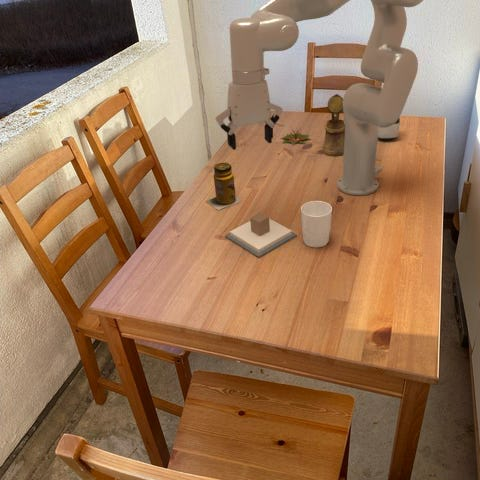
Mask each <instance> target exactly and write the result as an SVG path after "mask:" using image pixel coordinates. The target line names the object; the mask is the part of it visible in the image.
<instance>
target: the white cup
mask: <svg viewBox="0 0 480 480" xmlns="http://www.w3.org/2000/svg"><path fill="white" fill-rule="evenodd" d="M332 213H333V207H332V206H331V204H330V203H328V202H325V201H324V200H322V201H321V200H311V201H307V202H305V203H303V204H302V205H301V207H300V214H301V215H300V217H301V219H300V220H301V230H302V236H303V237H302V240H303V243H304V244H305V245H306V246H308V247H310V248H322V247H324V246H326V245H328V243H329V242H330V241H329V240H330V232H331V225H332V216H333V214H332Z"/></svg>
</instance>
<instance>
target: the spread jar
mask: <svg viewBox="0 0 480 480" xmlns="http://www.w3.org/2000/svg"><path fill="white" fill-rule="evenodd" d="M400 117H401V116H400ZM400 117H399V118H398V120H397V121H396V122H395V123H394V124H393V125H392V126H390V127H386V128H382V127H378V126H377V127H378V140H377V141H382V142H391V141H394V140H396V139H397V138H398V137H399V133H400V132H399V131H400V126H401V125H400V124H401V123H400V121H401V118H400Z"/></svg>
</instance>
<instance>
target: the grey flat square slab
mask: <svg viewBox="0 0 480 480" xmlns="http://www.w3.org/2000/svg"><path fill="white" fill-rule="evenodd" d="M224 237H225V238H226V239H227V240H229V241H230V242H232V243H234V244H235V245H237V246H239V247H240V248H241V249H243V250H245V251H247V252H248V253H249V254H252V256H254V257H256V258H258V259H260V258H263V257H264V256H265V255H267V254H269V253H271V252H272V251H274V250H276V249H278V248H279V247H281V246H282V245H284V244H287V243H288V242H290V241H291V240H293V239H295V238H298V234H297V233H296V232H294V231H292V235H290V236H288V237H287V238H285V239H283V240H281V241H280V242H278V243H276V244H274V245H273V246H271V247H269V248H267V249H265V250H264V251H262V252H260V253H258V252H256V251H255V250H253V249H251V248H250V247H248V246H247V245H245V244H243V243H242V242H240V241H239V240H237V239H235V238H234V237H232V236H230V232H229V233H226V234H224Z"/></svg>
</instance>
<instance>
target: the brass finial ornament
mask: <svg viewBox="0 0 480 480" xmlns="http://www.w3.org/2000/svg"><path fill="white" fill-rule="evenodd" d="M327 110H328V112H329V113H330V114H331V119H328V120H327V121H326V124H325V127H324V130H325V134H324V135H325V136H324V140H323V144H322V149H321V151H322V153H323V154H324V155H326V156H329V157H330V156H331V157H340V156H344V139H345V120H344V119H339V118H340V113H342V112H343V96H341V95H339V94H338V93H336V94H334V95H333V96H331V97H330V98H329V99H328V101H327Z"/></svg>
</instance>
